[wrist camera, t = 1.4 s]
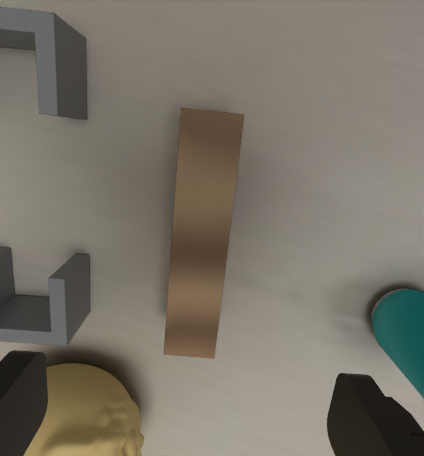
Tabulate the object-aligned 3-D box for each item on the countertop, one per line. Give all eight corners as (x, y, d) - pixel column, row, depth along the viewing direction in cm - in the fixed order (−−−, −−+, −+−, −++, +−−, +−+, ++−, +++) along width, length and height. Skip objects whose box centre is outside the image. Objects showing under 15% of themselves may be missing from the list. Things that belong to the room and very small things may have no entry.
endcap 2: (90, 311, 26) (66, 345, 22) (3, 304, 26) (-38, 338, 22) (89, 254, 25) (64, 279, 20) (-3, 247, 24) (-48, 270, 20)
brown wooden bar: (186, 114, 22) (181, 107, 17) (236, 119, 22) (244, 114, 18) (171, 315, 27) (163, 354, 22) (213, 318, 27) (214, 358, 22)
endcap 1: (-25, 27, 20) (-88, -3, 16) (85, 38, 21) (53, 12, 16) (-17, 109, 22) (-72, 102, 17) (87, 119, 22) (57, 115, 18)
